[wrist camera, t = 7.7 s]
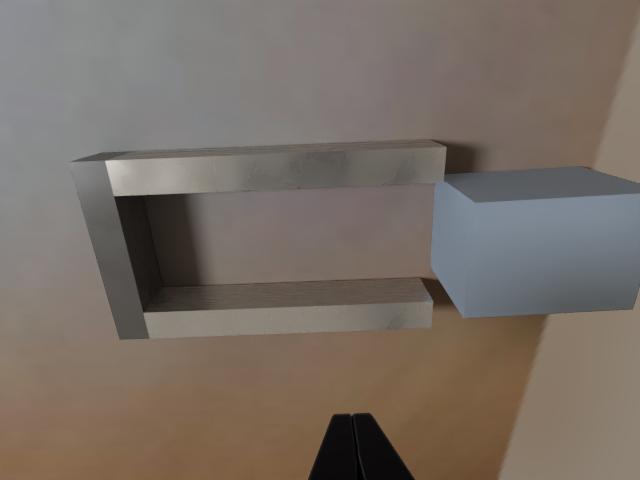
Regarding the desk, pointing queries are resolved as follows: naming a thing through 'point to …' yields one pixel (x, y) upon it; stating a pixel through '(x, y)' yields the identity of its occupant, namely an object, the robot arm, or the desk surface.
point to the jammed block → (537, 241)
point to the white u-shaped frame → (244, 299)
